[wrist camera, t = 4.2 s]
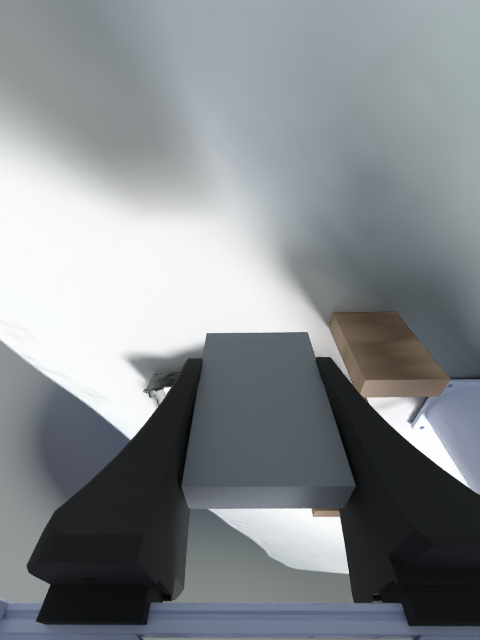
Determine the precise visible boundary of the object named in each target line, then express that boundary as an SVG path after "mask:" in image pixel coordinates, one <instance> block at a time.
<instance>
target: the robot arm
mask: <svg viewBox="0 0 480 640" xmlns="http://www.w3.org/2000/svg"><path fill="white" fill-rule="evenodd" d="M202 364H203V360H202V359H188V360H187V361H186V363H185V365H184V367H183V369H182V370H181V372H180V374H179V376H178V377H177V379H176V381H175V382H174V384H173V386H172V387H171V389H170V390H169V392H168V393H167V395H166V396H165V398H164V399H163V401H162V402H161V403H160V405H159V406H158V408H157V409H156V410H155V412H154V413H153V414H152V416H151V417H150V418H149V420H148V421H147V422H146V423H145V425H144V426H143V427H142V428H141V429H140V431H139V432H138V433H137V434H136V435H135V436H134V438H133V439H132V440H131V441H130V442H129V443H128V444H127V445H126V446H125V447H124V448H123V450H122V451H121V452H120V453H119V454H118V455H117V456H116V457H115V458H114V459H113V460H112V461H111V462H110V463H109V464H108V465H107V466H106V467H104V468H103V469H102V470H101V471H100V472H99V473H98V474H97V475H96V476H95V477H94V478H93V479H92V480H91V481H90V482H89V483H88V484H86V485H85V486H84V487H83V488H82V489H80V491H78V492H77V493H76V494H75V495H73V496H72V497H71V498H70V499H69V500H68V501H66V502H65V503H64V504H63V505H62V506H60V507H59V508H58V509H57V510H56V511H55V512H54V513H53V515H52V517H51V519H50V520H49V522H48V524H47V525H46V527H45V529H44V531H43V533H42V535H41V537H40V539H39V541H38V543H37V545H36V547H35V549H34V551H33V553H32V555H31V557H30V559H29V562H28V564H27V569H28V572H29V573H30V574H32V575H33V576H35V577H37V578H39V579H41V580H43V581H45V582H47V583H49V584H51V585H50V588H49V590H48V593H47V595H46V597H45V600H44V602H8V601H7V600H5V599H3V598H0V640H143V639H142V638H356V639H357V638H358V639H360V638H361V639H362V638H363V639H364V638H366V639H412V640H480V379H461V380H450V381H449V383H448V384H447V386H446V387H445V389H444V390H443V392H442V393H441V395H440V397H428V399H427V400H426V402H425V403H424V405H423V407H422V408H421V410H420V412H419V413H418V415H417V416H416V418H415V420H414V421H413V423H412V424H411V427H412V429H414V430H434V431H435V433H436V434H437V436H438V438H439V439H440V441H441V442H442V444H443V446H444V447H445V449H446V450H447V452H448V454H449V455H450V457H451V458H452V460H453V462H454V463H455V465H456V466H457V468H458V470H459V471H460V473H461V475H462V476H463V478H464V479H465V481H466V483H467V484H468V486H469V487H470V488H468V487H467V486H465V485H464V484H463V483H461V482H460V481H458V480H457V479H456V478H454V477H453V476H451V475H450V474H449V473H447V472H446V471H445V470H443V469H442V468H440V467H439V466H438V465H437V464H435V463H434V462H433V461H431V460H430V459H429V458H428V457H426V456H425V455H424V454H423V453H421V452H420V451H419V450H418V449H416V448H415V447H414V446H413V445H412V444H410V443H409V442H408V441H407V440H406V439H405V438H404V437H402V436H401V435H400V434H399V433H398V432H397V431H396V430H395V429H394V428H393V427H391V426H390V425H389V424H388V423H387V422H386V421H385V420H384V419H383V418H382V417H381V416H380V415H379V414H378V413H377V412H376V411H375V410H374V409H373V407H372V406H371V405H370V404H369V403H368V402H367V401H366V400H365V399H364V398H363V397H362V395H361V394H360V393H359V392H358V391H357V390H356V388H355V387H354V386H353V385H352V384H351V383H350V381H349V380H348V379H347V378H346V376H345V375H344V374H343V373H342V371H341V370H340V369H339V368H338V366H337V365H336V364H335V362H334V361H333V360H332V359H331V358H330V357H316V364H317V367H318V370H319V373H320V377H321V379H322V382H323V384H324V386H325V390H326V393H327V396H328V399H329V402H330V406H331V409H332V412H333V415H334V418H335V422H336V425H337V428H338V431H339V434H340V438H341V441H342V444H343V447H344V450H345V453H346V457H347V460H348V463H349V466H350V469H351V473H352V476H353V479H354V482H355V485H356V487H355V489H354V491H353V492H352V494H351V496H350V498H349V500H348V502H347V504H346V505H345V507H344V508H339V513H340V519H341V525H342V531H343V537H344V543H345V549H346V555H347V562H348V569H349V576H350V582H351V590H352V596H353V600H354V603H163V601H172V600H175V599H176V598H177V597H178V596H179V595H180V594H181V592H182V591H183V589H184V579H185V565H186V551H187V538H188V526H189V514H190V509H189V508H188V505H187V502H186V499H185V496H184V493H183V490H182V481H183V475H184V469H185V462H186V456H187V450H188V444H189V438H190V432H191V426H192V420H193V414H194V408H195V401H196V395H197V389H198V385H199V381H200V376H201V370H202Z"/></svg>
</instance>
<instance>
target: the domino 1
mask: <svg viewBox="0 0 480 640" xmlns="http://www.w3.org/2000/svg"><path fill="white" fill-rule="evenodd" d="M202 360H203V364H202V370H201V376H200V381H199V385H198V389H197V395H196V401H195V408H194V414H193V420H192V426H191V432H190V438H189V444H188V450H187V456H186V462H185V469H184V475H183V481H182V490H183V493H184V496H185V499H186V502H187V505H188V508H189V509H191V508H192V509H205V508H206V509H233V508H344V507H345V505H346V504H347V502H348V500H349V498H350V496H351V494H352V492H353V491H354V489H355V487H356V485H355V482H354V479H353V476H352V473H351V469H350V466H349V463H348V460H347V457H346V453H345V450H344V447H343V444H342V441H341V438H340V434H339V431H338V428H337V425H336V422H335V418H334V415H333V412H332V409H331V406H330V402H329V399H328V396H327V393H326V390H325V386H324V384H323V382H322V379H321V377H320V373H319V370H318V367H317V364H316V358H315V355H314V351H313V348H312V345H311V342H310V339H309V335H308V332H287V333H207V334H206V340H205V347H204V353H203V359H202Z"/></svg>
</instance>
